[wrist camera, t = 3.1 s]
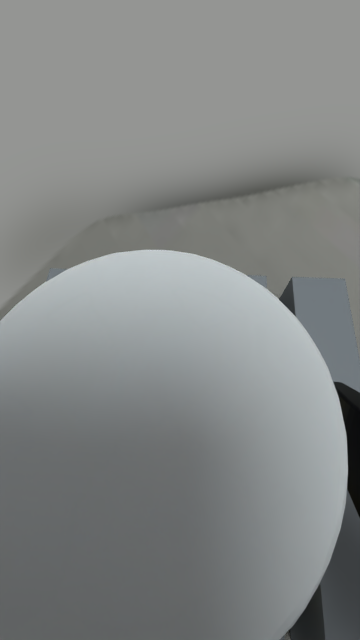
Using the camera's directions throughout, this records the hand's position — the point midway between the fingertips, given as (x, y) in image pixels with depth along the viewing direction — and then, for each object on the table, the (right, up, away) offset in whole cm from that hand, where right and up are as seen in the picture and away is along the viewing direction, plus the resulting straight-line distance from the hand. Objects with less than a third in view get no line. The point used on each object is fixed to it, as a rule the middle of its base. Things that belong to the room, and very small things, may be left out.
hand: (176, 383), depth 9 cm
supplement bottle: (0, -4, +6) cm, 8 cm away
